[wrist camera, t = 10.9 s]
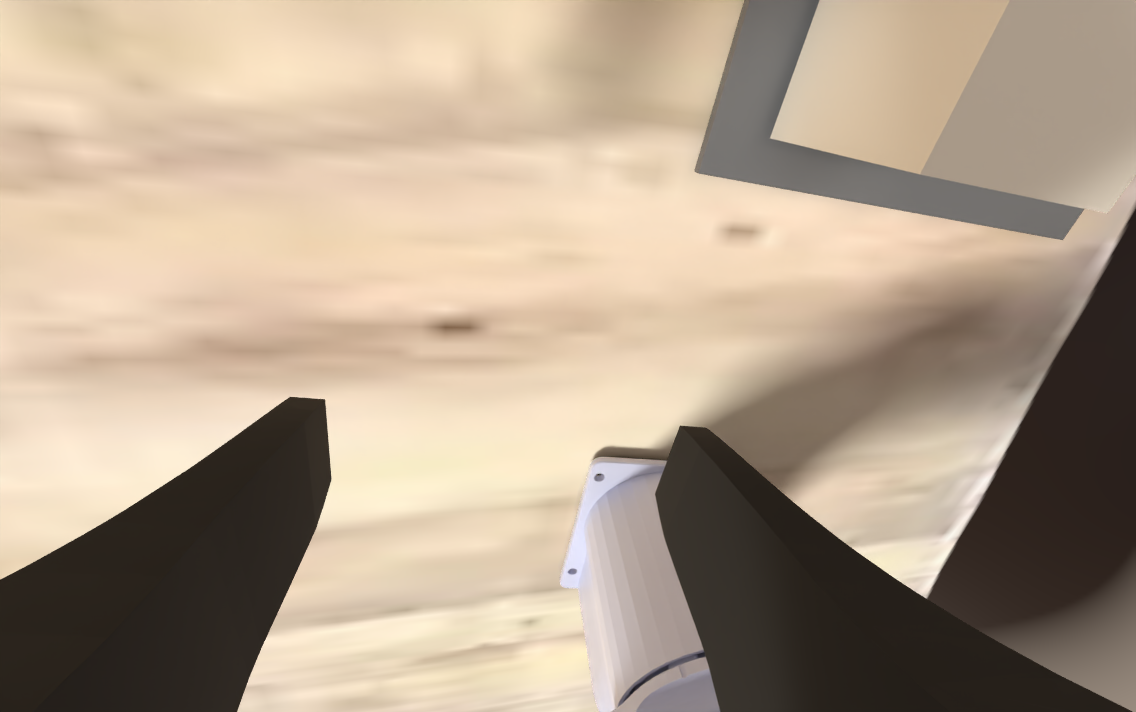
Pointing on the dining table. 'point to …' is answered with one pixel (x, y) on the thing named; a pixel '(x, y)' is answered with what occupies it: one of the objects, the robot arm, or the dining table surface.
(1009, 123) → the beige block
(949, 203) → the base board
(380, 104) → the dining table surface
